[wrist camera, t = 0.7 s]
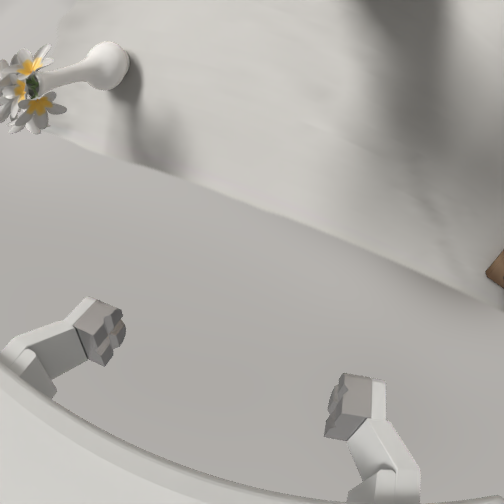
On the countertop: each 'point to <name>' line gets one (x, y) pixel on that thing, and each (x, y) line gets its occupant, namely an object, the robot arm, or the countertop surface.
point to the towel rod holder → (497, 270)
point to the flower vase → (53, 82)
